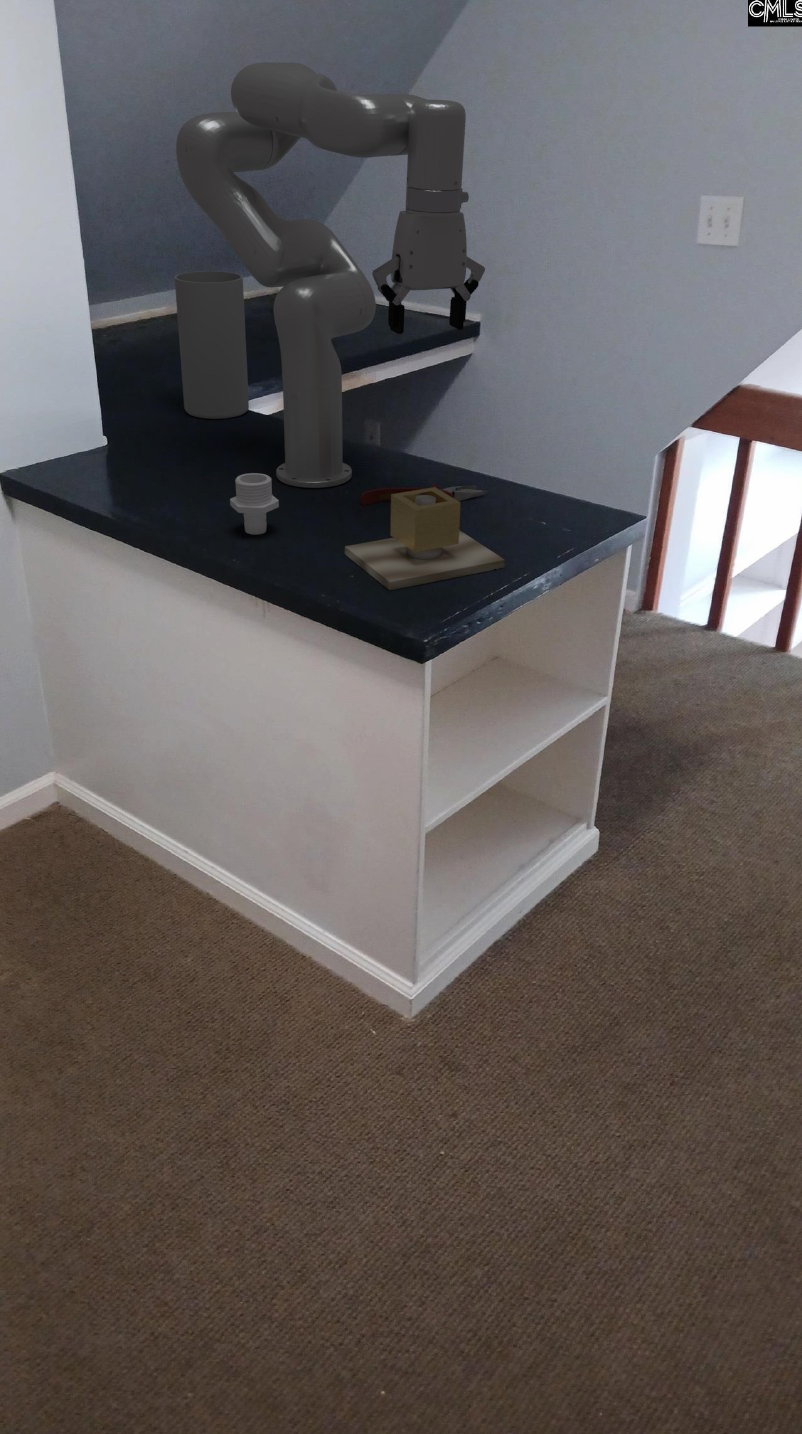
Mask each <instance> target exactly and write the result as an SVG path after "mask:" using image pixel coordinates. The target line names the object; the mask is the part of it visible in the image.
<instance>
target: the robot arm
mask: <svg viewBox="0 0 802 1434" xmlns="http://www.w3.org/2000/svg"><path fill="white" fill-rule="evenodd" d="M230 88H231V89H230V97H231V103H232V106H233V108H234V110H235V111H221V112H219V111H218V112H217V111H216V112H209V113H203V114H198V115H195V116H194V117H192V118H190V119H188V120H187V121H186V122H185V123H183V124H182V126H181V127H180V129H179V131H178V134H177V138H176V143H175V151H176V162H177V167H178V171H179V174H180V177H181V179H182V181H183V184H184V186H185V188H186V190H187V192H188V194H190V196H191V198H192V199H193V200H194V202H195V203H196V204H197V205H198V206H199V207H200V209H201V210H202V211H203V213H205V214H206V215H207V216H208V217H209V219H210V220H211V221H212V222H213V223H214V224H215V226H216V227H217V228H218V230H219V231H220V233H222V235H223V237H224V238H225V240H226V241H227V242H228V244H229V246H230V247H231V248H232V250H233V252H235V254H236V255H237V257H238V258H239V259H240V261H241V262H242V264H243V265H244V267H245V268H246V269H247V271H248V272H249V273H250V275H251V276H252V277H253V279H255V281H257V282H258V284H260V285H261V286H264V287H266V288H280V290H278V292H277V293H276V296H275V299H274V301H273V317H274V323H275V327H276V332H277V336H278V342H279V343H278V344H279V349H280V358H281V377H282V378H281V379H282V380H281V381H282V397H283V398H282V401H283V403H282V404H283V406H282V407H283V430H284V447H283V448H284V458H285V460H284V463H281V464H280V465H279V466H278V467H277V468H276V471H275V474H276V478H277V480H278V481H280V482H281V483H283V484H286V485H289V486H293V487H296V488H307V489H319V488H320V489H321V488H331V487H335V486H339V485H341V484H342V485H343V484H345V483H347V482H348V481H349V480H350V479H351V478H352V475H353V474H352V473H353V469H352V468H351V466H350V465H348V464H347V463H344V462H343V381H342V380H343V379H342V378H343V376H342V375H343V373H342V366H341V361H340V358H339V356H338V354H337V352H336V350H335V347H334V345H333V343H332V339H334V338H337V337H341V336H346V335H351V334H354V333H357V332H360V331H362V330H364V329H366V328H367V327H368V326H369V325H370V324H371V323H372V322H373V320H374V318H375V313H376V309H377V304H376V296H375V293H374V290H373V288H372V286H371V284H370V281H369V280H368V278H367V277H366V275H365V274H364V272H363V271H362V269H361V268H360V267H359V265H358V264H357V262H356V261H355V260H354V259H353V257H352V256H351V255H350V253H349V252H348V250H347V249H346V248H345V246H344V245H343V244H342V243H341V240H340V239H339V238H338V237H337V236H336V234H335V233H334V232H333V231H332V230H331V229H330V228H329V227H328V226H326V225H325V224H324V223H322V222H320V221H318V220H316V219H311V218H301V219H292V220H291V219H290V220H289V219H288V220H287V219H283V218H280V216H278V215H277V214H276V213H275V212H274V210H273V209H272V208H271V207H270V205H269V203H268V202H267V201H266V199H265V198H264V197H263V196H262V194H260V192H259V191H257V189H256V188H254V187H253V186H252V185H251V184H249V183H247V182H246V181H244V179H241V178H240V177H239V176H238V175H236V174H235V173H244V172H252V171H253V172H254V171H265V170H266V169H270V168H272V167H273V166H275V165H277V164H278V163H279V162H280V161H281V160H282V159H283V158H284V157H285V156H286V155H287V154H288V153H289V152H290V150H291V149H293V147H294V146H295V144H298V141H300V140H301V138H303V139H306V140H308V141H309V142H310V143H311V144H312V145H313V146H314V147H316V148H318V149H320V150H321V149H322V150H325V151H328V152H332V153H336V154H341V155H344V156H349V157H354V158H361V159H362V158H363V159H365V158H368V159H370V158H377V157H378V158H379V157H390V156H391V157H393V156H394V157H395V156H396V157H397V156H406V155H407V164H406V165H407V166H406V167H407V168H406V190H405V210H400V211H399V214H398V217H397V221H396V225H395V226H396V227H395V230H394V232H395V233H394V237H393V243H392V252H391V259H389V260H388V261H386V262H384V263H383V264H381V265H380V266H379V267H377V268H375V269H373V271H372V273H371V274H372V277H373V279H374V280H373V281H374V282H375V284H376V286H377V290H378V291H379V293H381V295H382V297H384V298H385V300H386V301H387V302H388V318H387V322H388V326H389V329H390V331H392V332H393V333H396V334H397V335H403V333H404V331H405V310H406V309H405V305H404V304H402V302H403V300H404V299H405V298H406V297H407V295H408V294H409V293H410V291H429V290H432V291H433V290H446V289H447V290H448V289H450V290H451V292H452V294H453V295H454V296H451V298H450V301H449V302H450V306H449V326H451V327H452V328H454V329H457V330H459V331H461V330H464V323H465V321H466V315H467V303H468V301H470V299H471V297H472V296H471V295H472V294H473V293H474V292H475V291H476V290H477V289H478V287H479V286H480V285H479V284H480V282H481V279H482V277H483V276H484V273H485V271H486V268H485V266H484V265H482V264H480V263H478V262H477V261H476V260H474V259H472V258H470V257H469V256H467V253H468V252H467V251H468V249H467V248H468V247H467V232H466V231H467V230H466V222H465V214H464V213H463V211H462V212H461V209H462V204H463V203H468V202H469V198H470V197H469V196H470V195H469V193H468V191H464V190H463V188H462V185H463V184H462V182H463V181H462V180H463V169H464V166H463V165H464V151H465V150H464V149H465V135H466V110H465V107H464V105H463V104H462V103H459V102H457V101H453V100H447V99H427V98H424V97H421V96H419V95H415V94H408V93H394V94H393V93H391V94H390V93H384V94H381V93H378V94H377V93H375V94H356V93H349V92H343V91H339V90H338V89H337V87H336V84H335V83H334V81H333V80H331V78H330V77H328V76H327V75H325V74H321V73H316V72H315V70H313V69H312V68H310V67H308V66H307V65H305V64H304V63H303V64H302V63H300V62H256V63H252V64H249V65H247V66H244V67H243V68H242V69H241V70H240V71H238V73H237V74H236V75H235V77H234V78H233V81H232V83H231V87H230ZM467 269H468V270H470V274H469V278H467V279H466V275H467ZM389 275H390V280H391V282H392V283H393V284H392V286H390V285H389V284H388V280H387V277H388V276H389Z"/></svg>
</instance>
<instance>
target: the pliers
mask: <svg viewBox="0 0 802 1434" xmlns="http://www.w3.org/2000/svg"><path fill="white" fill-rule="evenodd" d="M433 487H436V488H437V489H439V490H441V491H442V492H444V493H446V494H447V495H449V496H450V497H452V498H454V499H455V500H457V501H459V502H461V501H465V500H470V499H472V498H476V497H481V496H482V495H483V496H484V495H486V494H488V490H482V489H481V490H480V489H478V488H479V485H478V484H477V485H461V486H460V485H459V486H450V487H446V488H445V487H444V488H442V489H441V488H440V486H437V484H431V488H433ZM427 488H428V487H383V488H376V489H371V490H367V491H363V492H362V493H361V494H360V497H359V498H360V499H359V502H360V505H362V506H366V505H367V504H368V505H371V504H377V502H378V503H383V502H391V494H396V493H402V492H409V491H415V490H421V489H427ZM389 521H390V522H391V514H390V517H389Z"/></svg>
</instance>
